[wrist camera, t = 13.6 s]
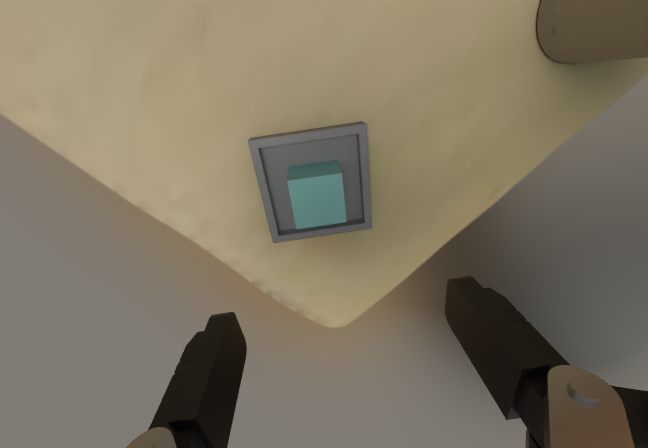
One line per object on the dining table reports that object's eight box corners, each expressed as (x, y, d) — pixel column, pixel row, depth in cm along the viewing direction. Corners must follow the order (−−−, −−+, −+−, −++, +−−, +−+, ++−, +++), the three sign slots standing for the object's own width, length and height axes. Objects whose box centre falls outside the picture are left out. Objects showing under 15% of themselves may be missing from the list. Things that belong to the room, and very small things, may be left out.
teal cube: (335, 159, 29) (341, 173, 25) (339, 202, 31) (346, 221, 27) (288, 166, 29) (287, 181, 24) (296, 209, 31) (296, 229, 27)
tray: (362, 121, 28) (366, 123, 26) (368, 221, 33) (371, 228, 32) (250, 137, 28) (247, 141, 26) (274, 235, 33) (273, 243, 31)
